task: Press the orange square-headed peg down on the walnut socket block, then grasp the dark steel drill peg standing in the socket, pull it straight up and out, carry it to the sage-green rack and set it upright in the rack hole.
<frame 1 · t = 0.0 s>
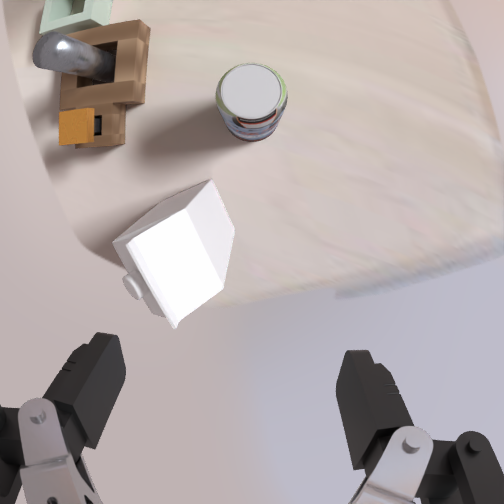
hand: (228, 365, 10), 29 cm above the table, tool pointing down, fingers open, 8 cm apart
drill peg: (83, 60, 25), in the socket block
beverage can: (252, 110, 34), on the table
milk carton: (198, 215, 39), on the table
socket block: (110, 69, 32), on the table
rack: (86, 9, 28), on the table
orange square-headed peg: (85, 126, 29), point 6 cm above the table, slide at 0.0 cm
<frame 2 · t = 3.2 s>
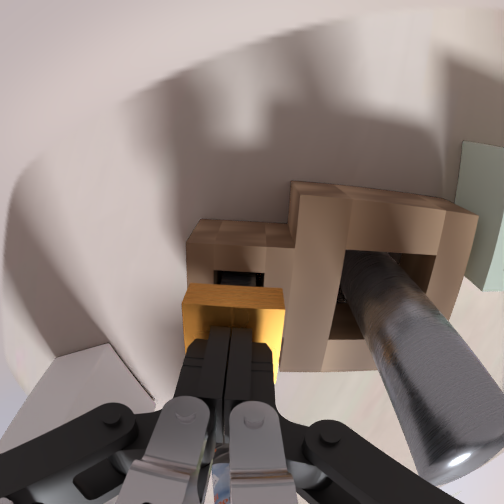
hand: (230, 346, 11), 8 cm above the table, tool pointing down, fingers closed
drill peg: (404, 331, 13), in the socket block
beverage can: (251, 438, 26), on the table
milk carton: (104, 379, 24), on the table
socket block: (362, 267, 19), on the table
rack: (494, 207, 17), on the table
orange square-headed peg: (236, 308, 14), point 5 cm above the table, slide at 0.4 cm, touching gripper
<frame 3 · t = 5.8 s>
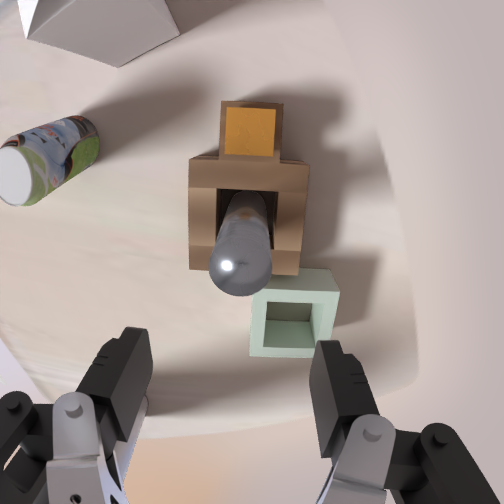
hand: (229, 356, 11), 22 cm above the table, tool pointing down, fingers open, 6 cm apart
drill peg: (244, 230, 25), in the socket block
beverage can: (81, 149, 29), on the table
milk carton: (138, 26, 24), on the table
socket block: (247, 208, 31), on the table
rack: (288, 300, 35), on the table
orange square-headed peg: (250, 131, 25), point 4 cm above the table, slide at 2.2 cm
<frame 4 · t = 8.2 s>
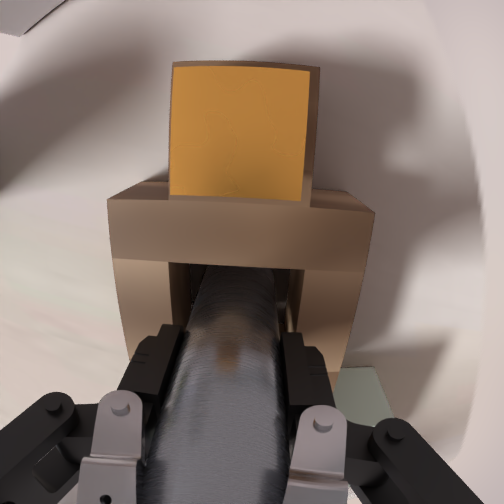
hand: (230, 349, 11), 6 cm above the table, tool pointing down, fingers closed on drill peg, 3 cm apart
drill peg: (228, 373, 10), in the socket block, touching gripper
socket block: (239, 280, 17), on the table
rack: (305, 408, 20), on the table
orange square-headed peg: (242, 131, 11), point 4 cm above the table, slide at 2.2 cm
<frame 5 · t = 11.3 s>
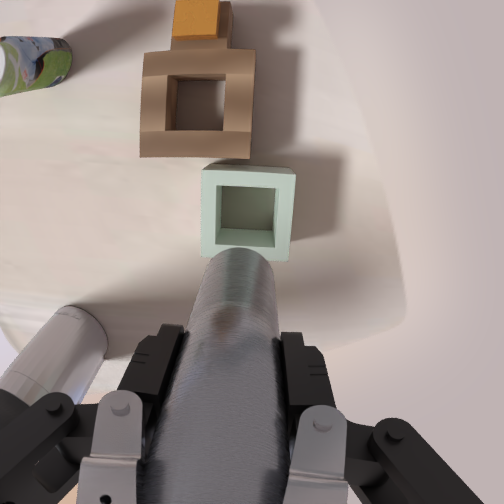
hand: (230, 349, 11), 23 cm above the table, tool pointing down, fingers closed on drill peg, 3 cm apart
drill peg: (228, 372, 10), point 24 cm above the table, touching gripper
beverage can: (56, 69, 27), on the table
socket block: (202, 105, 29), on the table
rack: (247, 204, 32), on the table
orange square-headed peg: (200, 26, 23), point 4 cm above the table, slide at 2.2 cm
when the fingers open (7 cm above the table, at t = 14.3 s): drill peg drops 1 cm, resting in rack.
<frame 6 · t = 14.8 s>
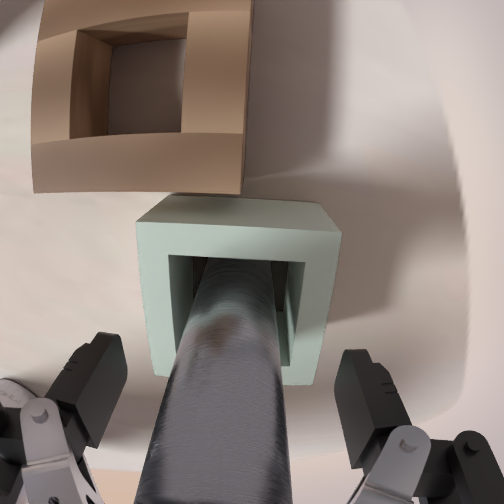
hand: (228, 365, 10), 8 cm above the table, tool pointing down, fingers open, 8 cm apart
drill peg: (230, 346, 11), in the rack
socket block: (152, 85, 14), on the table
rack: (239, 268, 18), on the table
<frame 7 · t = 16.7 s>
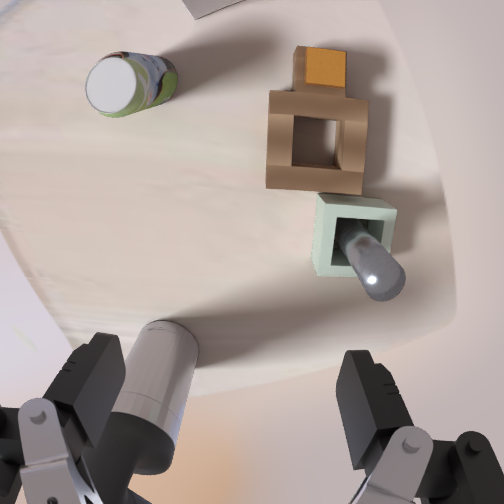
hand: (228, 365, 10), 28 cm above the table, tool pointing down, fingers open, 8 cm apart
drill peg: (362, 250, 31), in the rack
beverage can: (155, 88, 32), on the table
socket block: (312, 141, 33), on the table
rack: (346, 228, 37), on the table
orange square-headed peg: (321, 71, 27), point 4 cm above the table, slide at 2.2 cm
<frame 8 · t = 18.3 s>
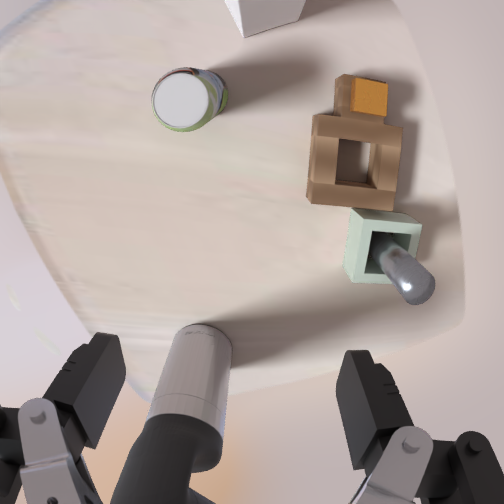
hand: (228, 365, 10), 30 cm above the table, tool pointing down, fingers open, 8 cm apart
drill peg: (393, 260, 34), in the rack
beverage can: (203, 101, 35), on the table
milk carton: (259, 7, 30), on the table
socket block: (349, 160, 37), on the table
rack: (374, 239, 40), on the table
orange square-headed peg: (363, 99, 31), point 4 cm above the table, slide at 2.2 cm
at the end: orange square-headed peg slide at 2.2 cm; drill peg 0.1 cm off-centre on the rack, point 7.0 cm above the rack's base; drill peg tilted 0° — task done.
